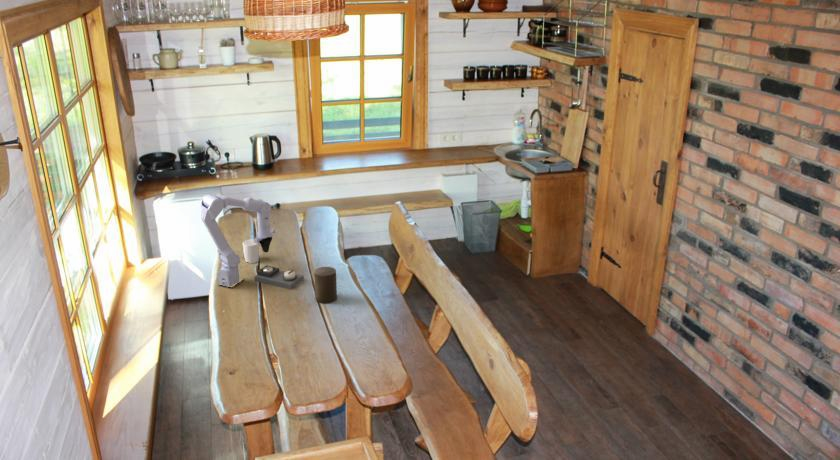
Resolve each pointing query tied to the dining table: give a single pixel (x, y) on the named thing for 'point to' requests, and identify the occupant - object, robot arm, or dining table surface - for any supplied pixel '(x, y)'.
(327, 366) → the dining table surface
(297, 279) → the console
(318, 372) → the dining table surface
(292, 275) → the dial knob
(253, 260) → the white cup
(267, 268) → the press knob
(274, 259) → the dining table surface
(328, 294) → the pillar candle
